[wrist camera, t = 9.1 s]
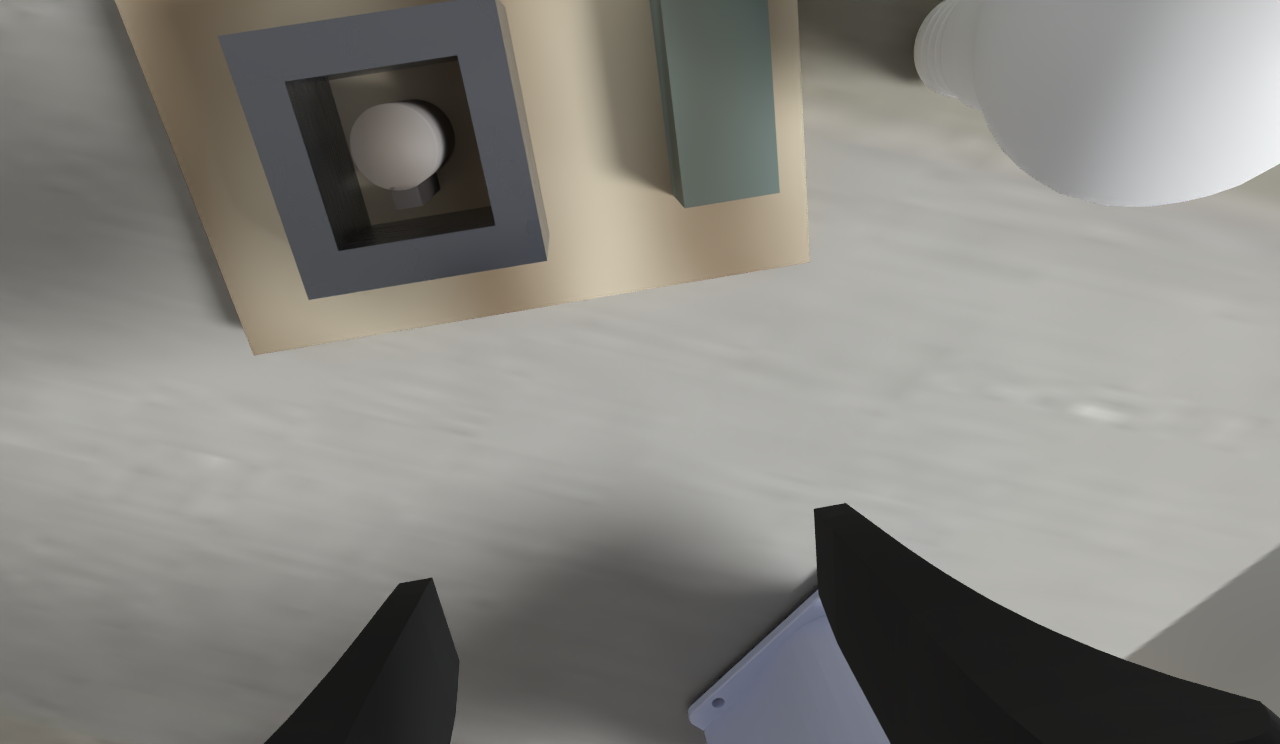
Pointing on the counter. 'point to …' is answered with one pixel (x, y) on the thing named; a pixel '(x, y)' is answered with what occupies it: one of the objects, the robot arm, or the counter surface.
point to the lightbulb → (1116, 90)
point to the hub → (323, 168)
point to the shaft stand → (562, 144)
